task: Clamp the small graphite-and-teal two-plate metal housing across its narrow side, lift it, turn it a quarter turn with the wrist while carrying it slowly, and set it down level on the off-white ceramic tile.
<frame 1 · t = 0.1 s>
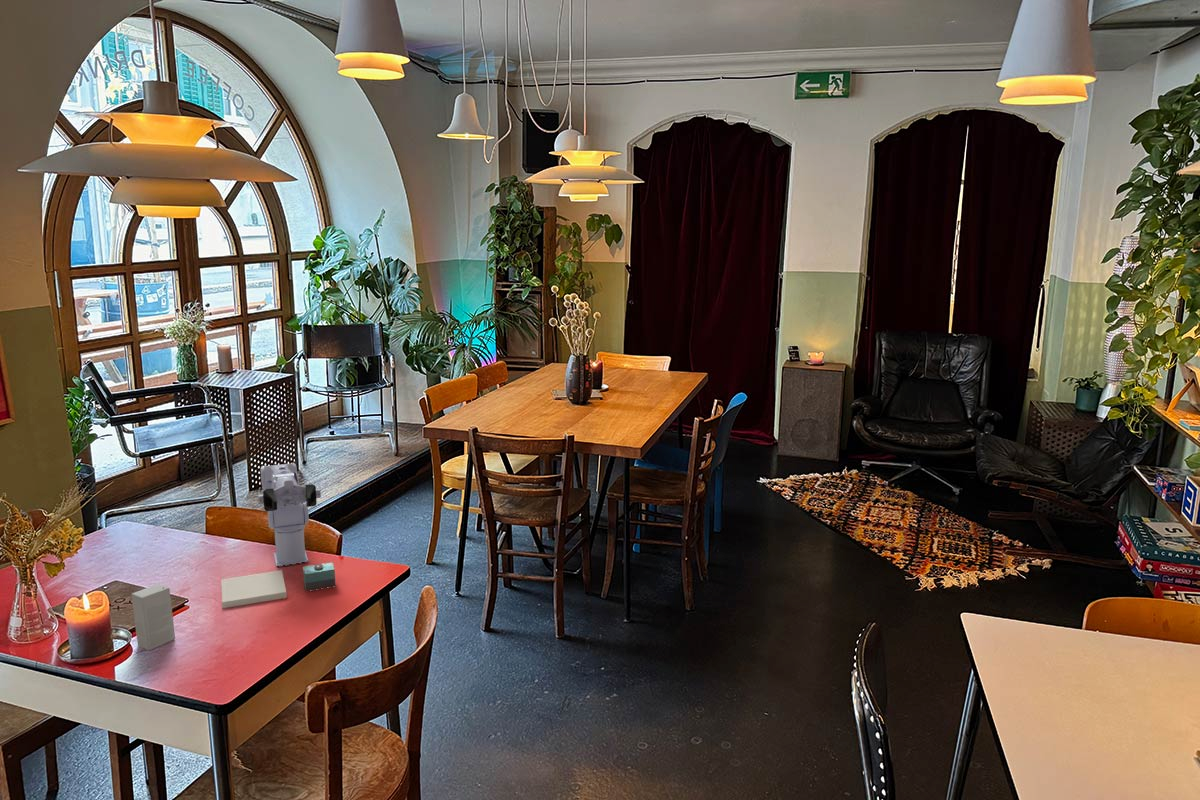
hand: (292, 503, 196), 22 cm above the table, tool horizontal, fingers open, 7 cm apart
housing: (319, 586, 202), on the table
skincare box: (156, 643, 173), on the table
stand tile: (253, 591, 198), on the table
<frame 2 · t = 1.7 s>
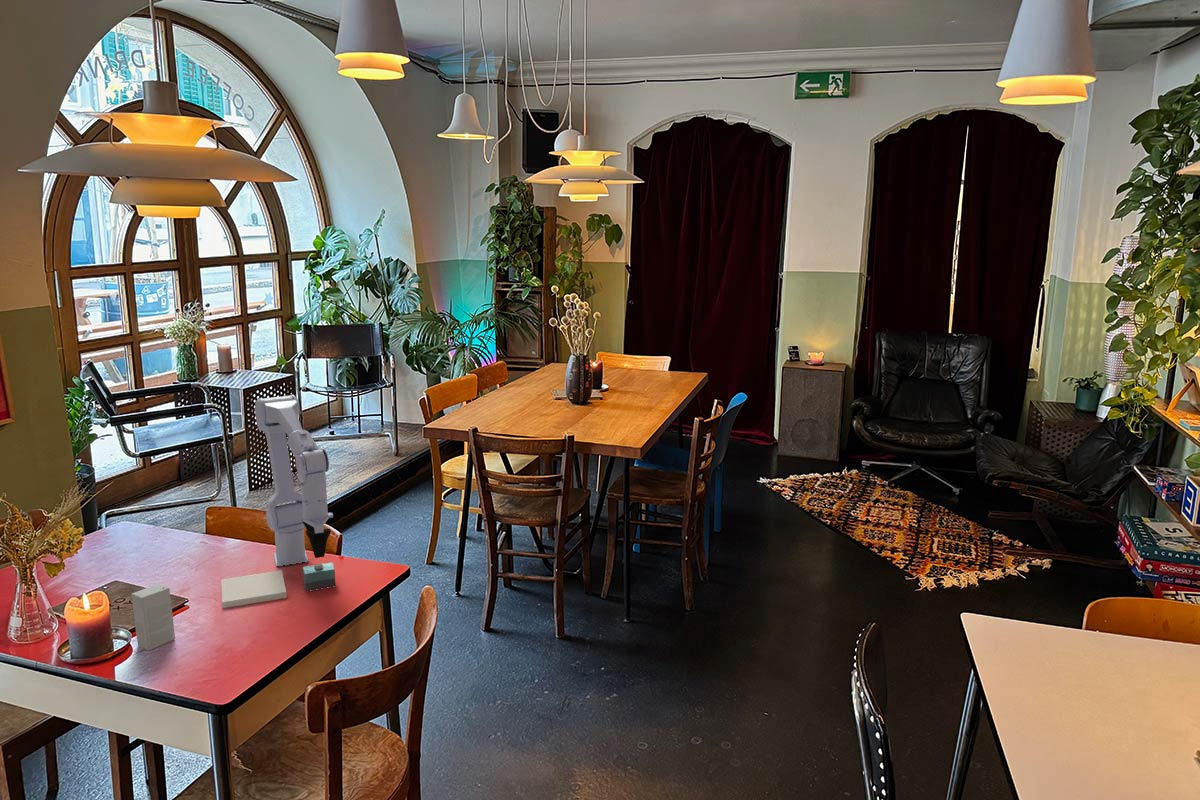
hand: (317, 551, 200), 9 cm above the table, tool pointing down, fingers open, 7 cm apart
nothing on the table moved.
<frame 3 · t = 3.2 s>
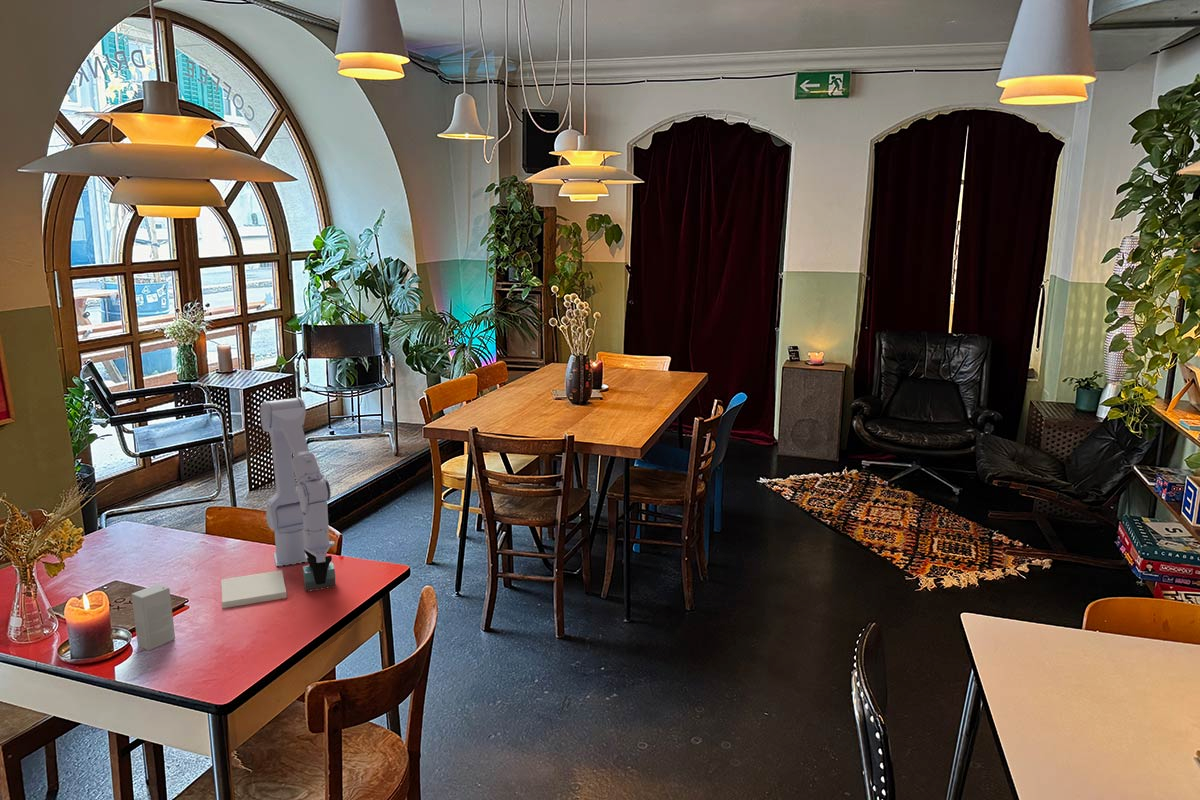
hand: (319, 579, 202), 2 cm above the table, tool pointing down, fingers closed on housing, 5 cm apart
housing: (319, 585, 202), on the table, touching gripper
everything else where it was.
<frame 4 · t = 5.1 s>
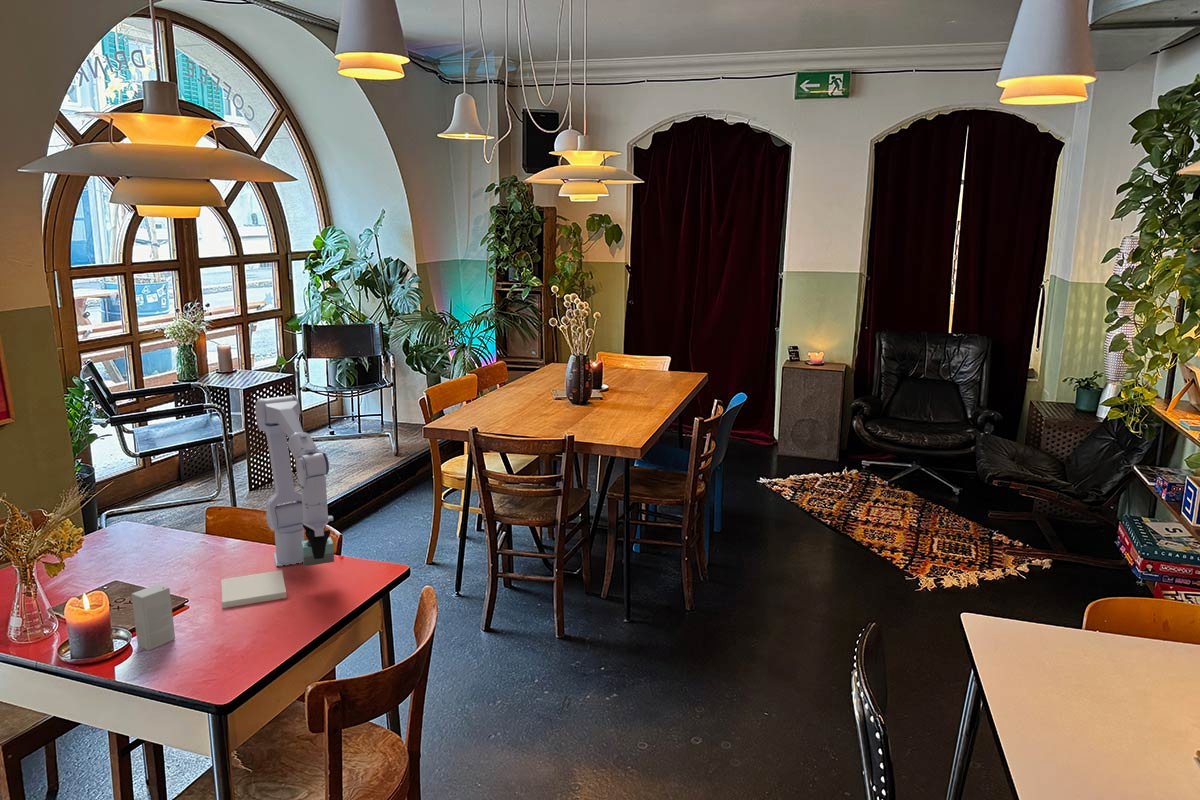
hand: (317, 554, 200), 8 cm above the table, tool pointing down, fingers closed on housing, 5 cm apart
housing: (318, 560, 201), point 7 cm above the table, touching gripper
everything else where it was.
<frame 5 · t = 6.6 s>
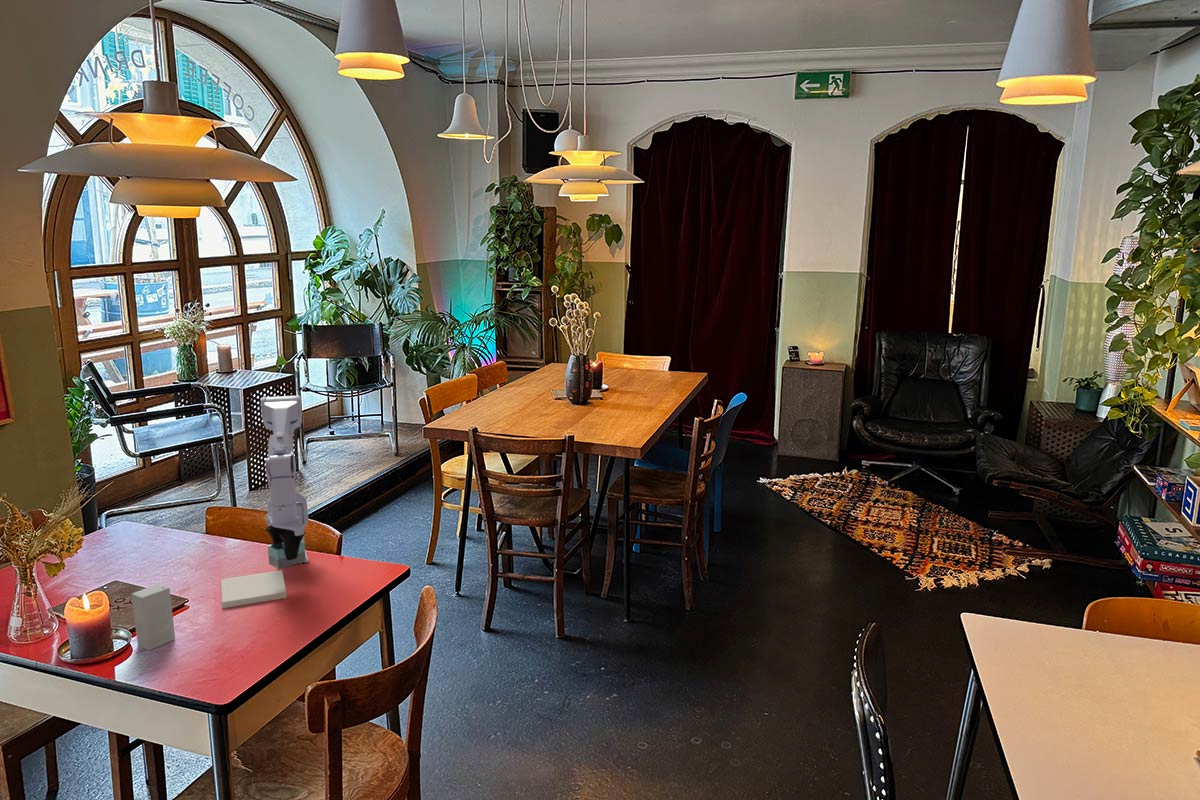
hand: (287, 556, 199), 8 cm above the table, tool pointing down, fingers closed on housing, 5 cm apart
housing: (287, 562, 199), point 7 cm above the table, touching gripper
everything else where it was.
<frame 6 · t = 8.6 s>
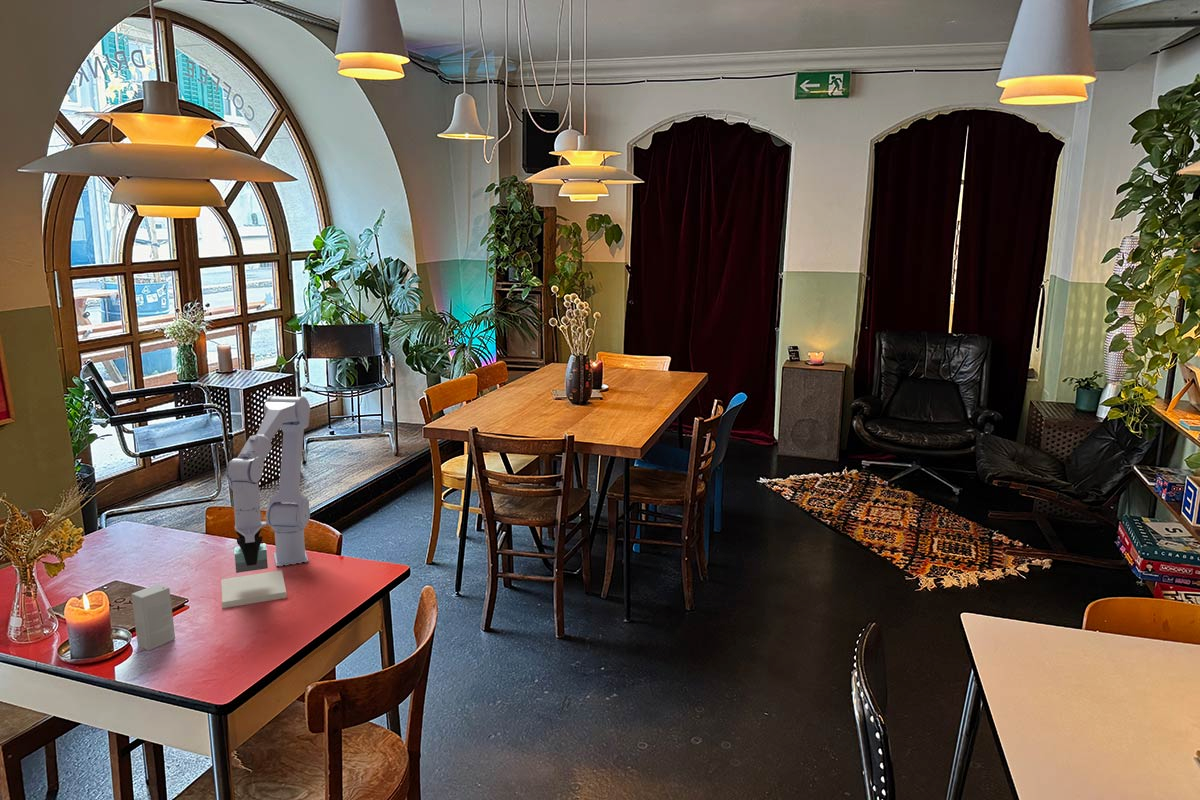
hand: (251, 560, 197), 8 cm above the table, tool pointing down, fingers closed on housing, 5 cm apart
housing: (251, 567, 197), point 6 cm above the table, touching gripper
everything else where it was.
when the fingers open (4 cm above the table, at t = 10.2 s): housing drops 1 cm, resting on stand tile.
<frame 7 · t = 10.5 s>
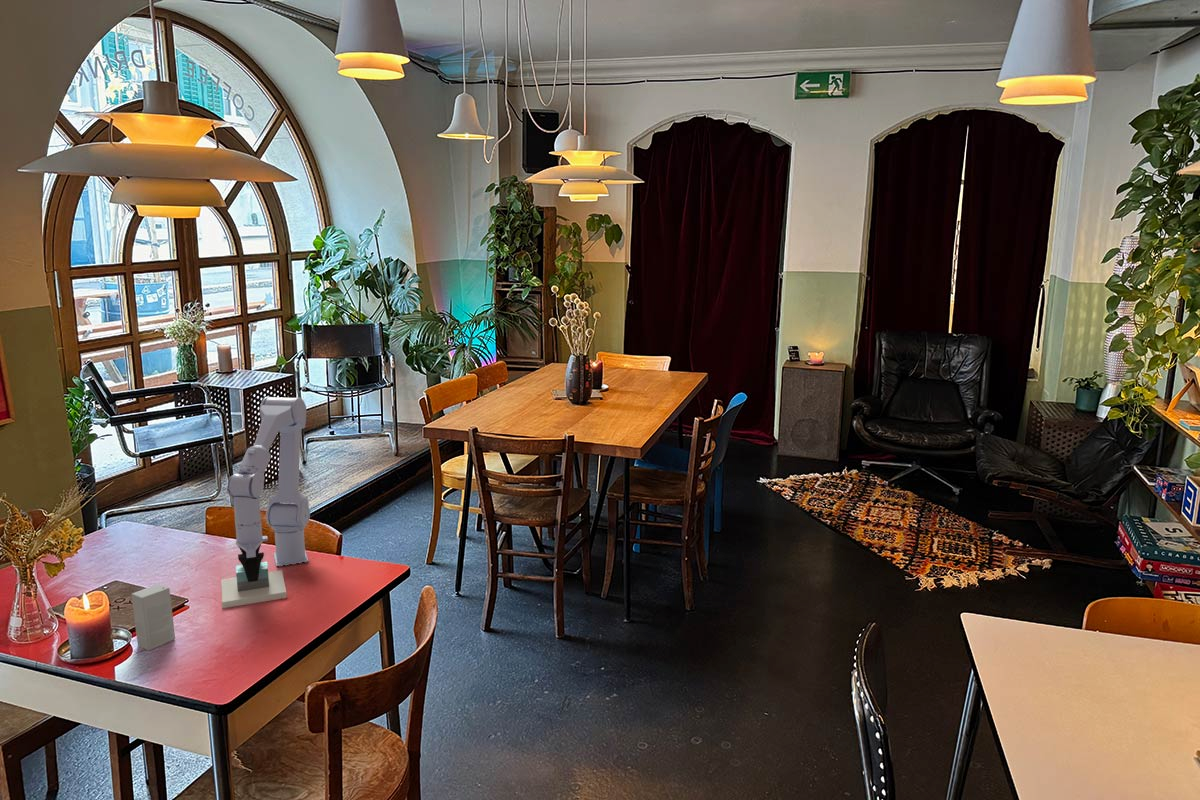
hand: (252, 575, 197), 4 cm above the table, tool pointing down, fingers open, 7 cm apart
housing: (253, 585, 198), point 1 cm above the table, touching stand tile
everything else where it was.
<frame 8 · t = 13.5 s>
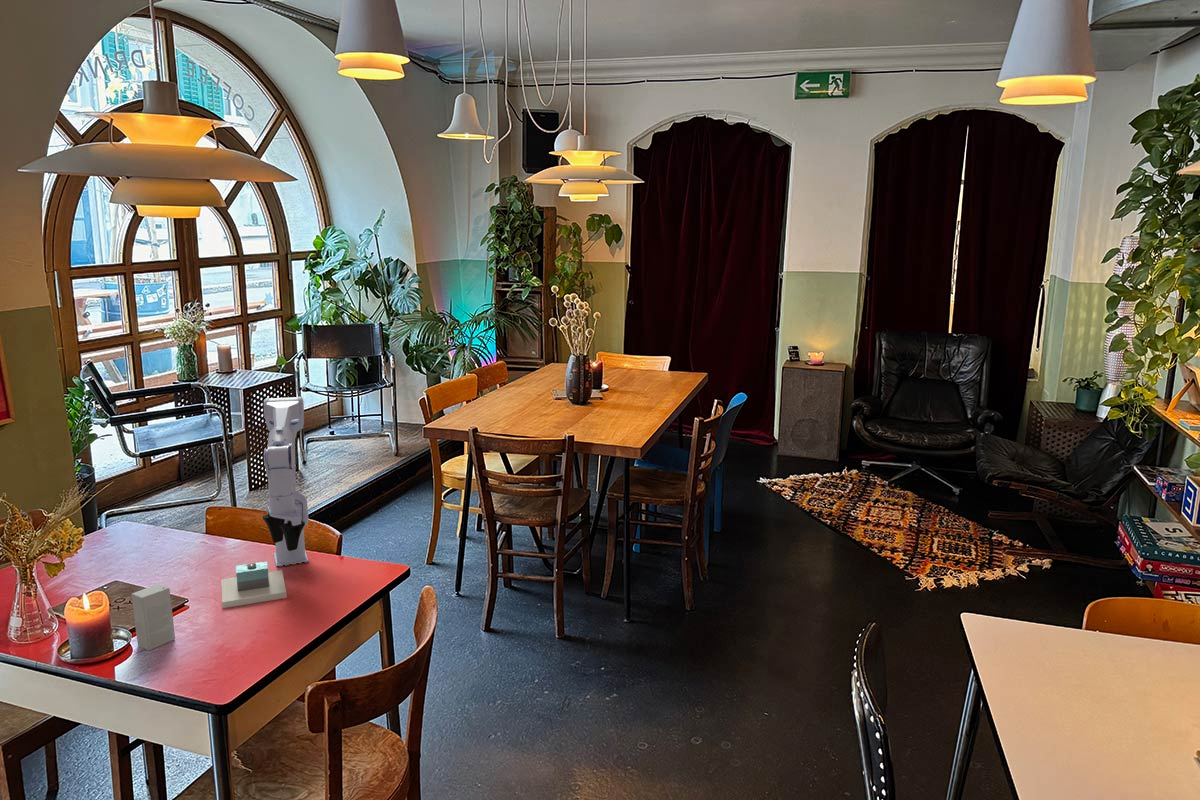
hand: (285, 545, 202), 9 cm above the table, tool pointing down, fingers open, 7 cm apart
nothing on the table moved.
at the end: housing inside the target area on the stand tile (0.0 cm from its centre), point 1.5 cm above the stand tile's base; housing tilted 0°; the gripper is holding nothing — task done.
